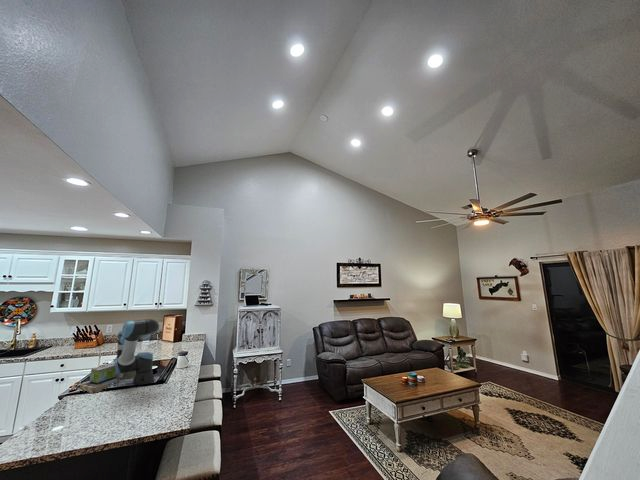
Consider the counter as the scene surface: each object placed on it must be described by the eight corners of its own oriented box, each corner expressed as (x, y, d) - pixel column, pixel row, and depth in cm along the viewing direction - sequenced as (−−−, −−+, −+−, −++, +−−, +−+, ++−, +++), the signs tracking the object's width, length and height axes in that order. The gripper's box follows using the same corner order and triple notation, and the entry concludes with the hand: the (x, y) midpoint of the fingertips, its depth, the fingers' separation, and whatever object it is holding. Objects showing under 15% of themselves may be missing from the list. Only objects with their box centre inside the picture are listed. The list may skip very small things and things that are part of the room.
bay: (108, 388, 219) (108, 383, 219) (93, 393, 210) (93, 388, 210) (94, 385, 226) (94, 380, 226) (79, 390, 217) (80, 384, 217)
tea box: (97, 389, 217) (99, 370, 219) (88, 388, 220) (90, 368, 222) (116, 382, 231) (118, 364, 233) (108, 381, 234) (109, 363, 236)
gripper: (127, 346, 248) (125, 374, 245) (111, 350, 236) (109, 379, 233) (132, 347, 244) (131, 375, 242) (117, 351, 233) (115, 380, 230)
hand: (120, 377), depth 237 cm, fingers closed
